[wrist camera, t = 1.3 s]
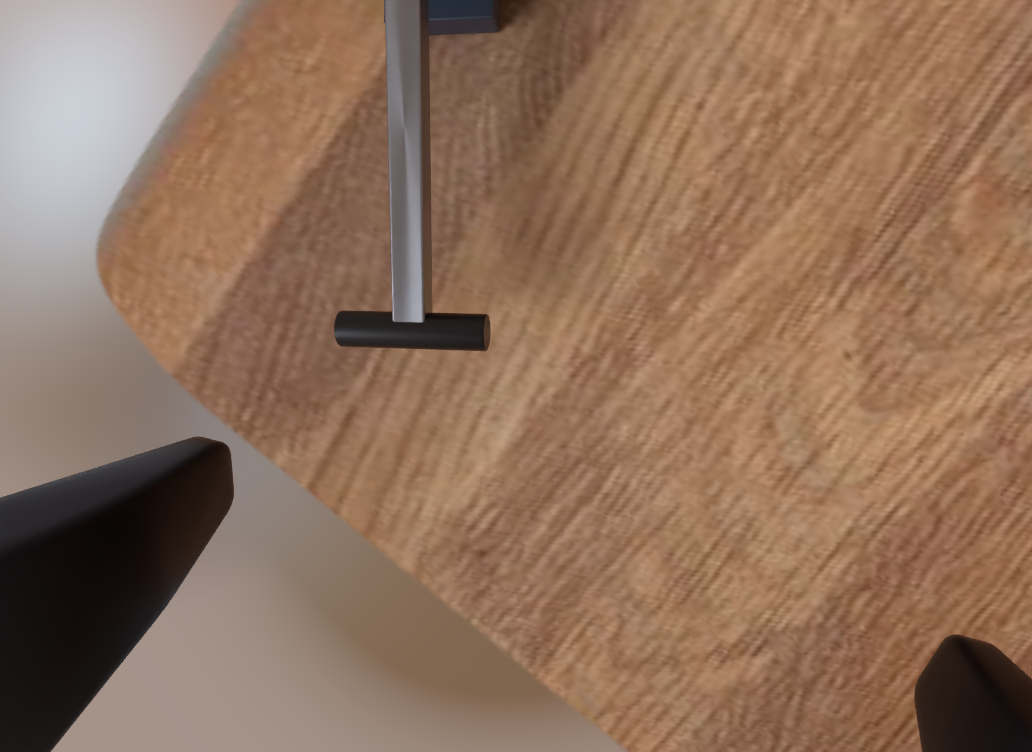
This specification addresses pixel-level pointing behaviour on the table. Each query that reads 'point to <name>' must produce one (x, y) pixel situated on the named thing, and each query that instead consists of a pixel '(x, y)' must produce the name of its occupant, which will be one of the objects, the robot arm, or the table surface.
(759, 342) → the table surface
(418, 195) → the lever
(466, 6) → the bracket
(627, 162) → the table surface
